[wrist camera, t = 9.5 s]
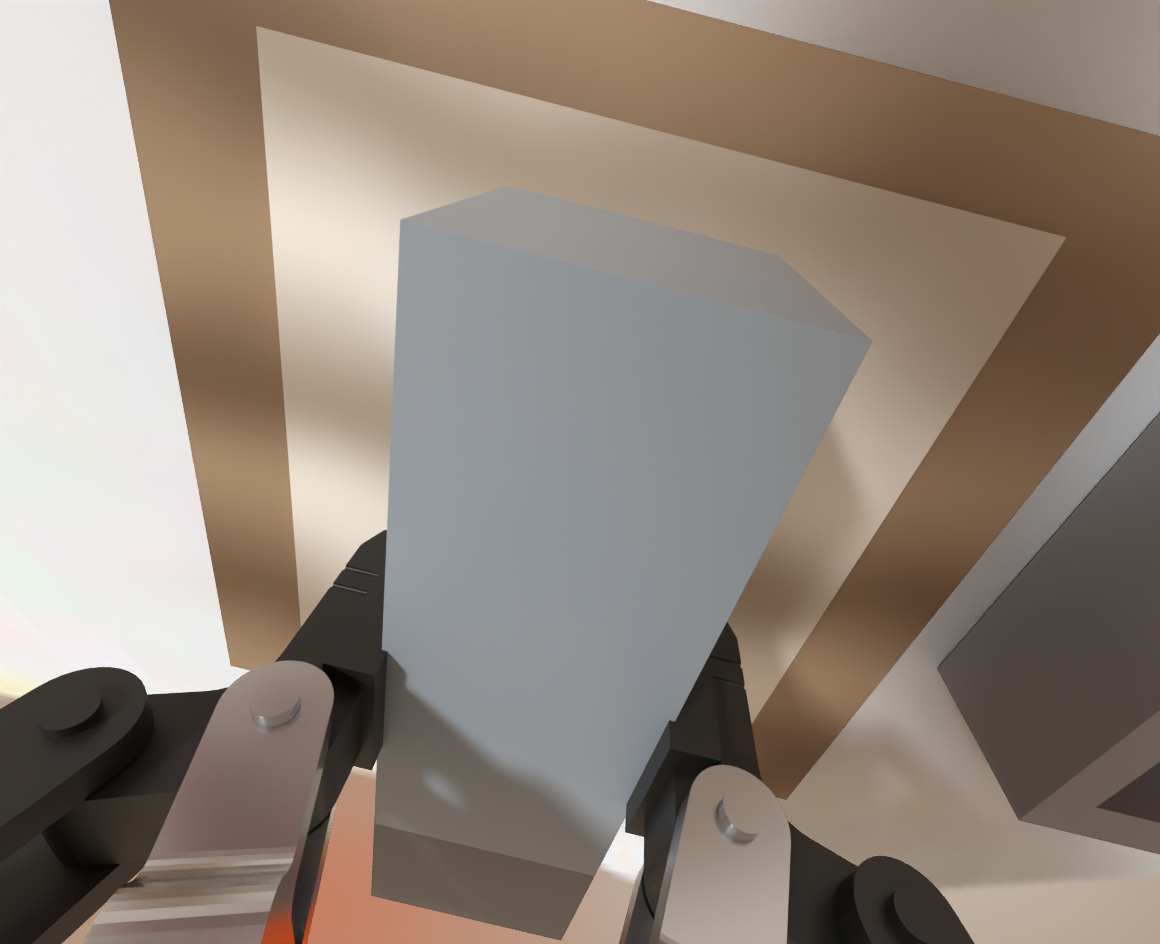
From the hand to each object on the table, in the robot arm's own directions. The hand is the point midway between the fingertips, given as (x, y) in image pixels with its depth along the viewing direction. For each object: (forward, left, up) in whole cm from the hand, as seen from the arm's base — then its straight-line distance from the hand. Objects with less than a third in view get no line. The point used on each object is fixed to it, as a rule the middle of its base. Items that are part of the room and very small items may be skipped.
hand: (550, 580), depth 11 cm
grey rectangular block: (0, 0, -1) cm, 1 cm away
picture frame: (0, 0, -3) cm, 3 cm away
